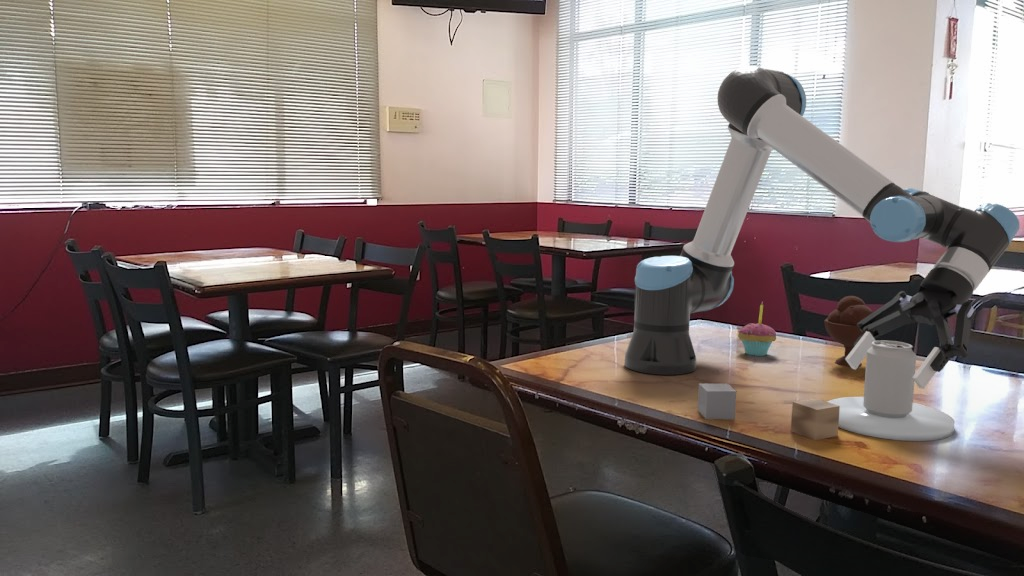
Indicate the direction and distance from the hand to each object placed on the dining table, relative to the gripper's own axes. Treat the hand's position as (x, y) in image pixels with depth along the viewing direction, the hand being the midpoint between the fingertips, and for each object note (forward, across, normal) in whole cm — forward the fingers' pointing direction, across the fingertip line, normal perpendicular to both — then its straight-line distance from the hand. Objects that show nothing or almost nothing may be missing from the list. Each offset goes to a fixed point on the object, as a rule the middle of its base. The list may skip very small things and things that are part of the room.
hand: (882, 373), depth 133 cm
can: (+4, 0, -6) cm, 7 cm away
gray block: (+22, +14, +10) cm, 28 cm away
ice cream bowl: (-14, +34, -27) cm, 46 cm away
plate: (+5, 0, -7) cm, 9 cm away
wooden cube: (+16, 0, +4) cm, 17 cm away
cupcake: (-6, +50, -18) cm, 53 cm away
